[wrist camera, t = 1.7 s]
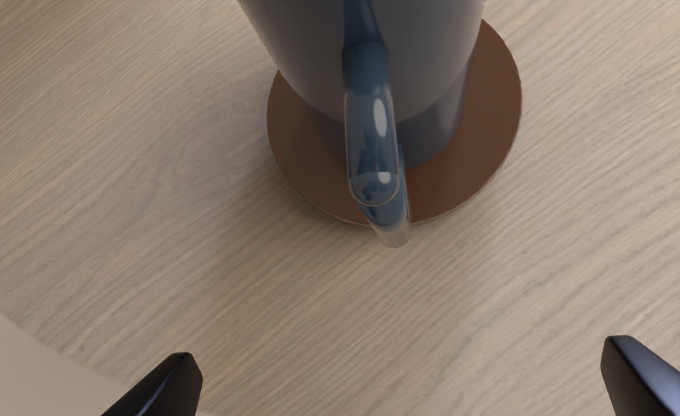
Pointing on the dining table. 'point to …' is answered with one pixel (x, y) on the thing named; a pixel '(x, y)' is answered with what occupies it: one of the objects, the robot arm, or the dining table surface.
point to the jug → (387, 106)
